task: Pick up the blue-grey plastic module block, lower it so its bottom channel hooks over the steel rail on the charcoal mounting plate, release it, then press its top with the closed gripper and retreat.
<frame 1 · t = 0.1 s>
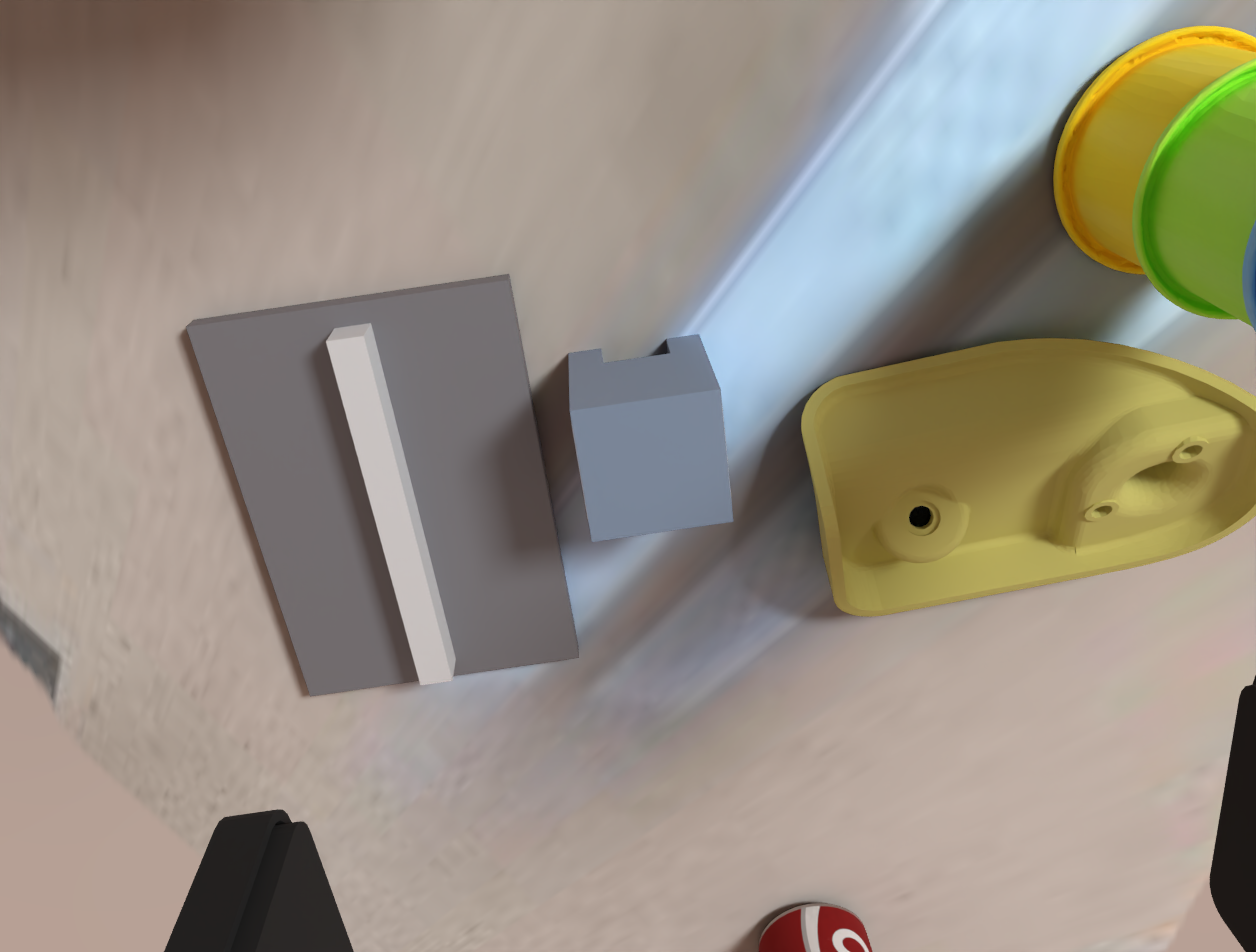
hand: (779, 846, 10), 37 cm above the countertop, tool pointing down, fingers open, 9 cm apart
plastic component: (995, 458, 50), on the countertop
module: (641, 404, 48), on the countertop
stacking cups: (1164, 154, 44), on the countertop
soda can: (808, 930, 64), on the countertop
rail plate: (403, 497, 49), on the countertop
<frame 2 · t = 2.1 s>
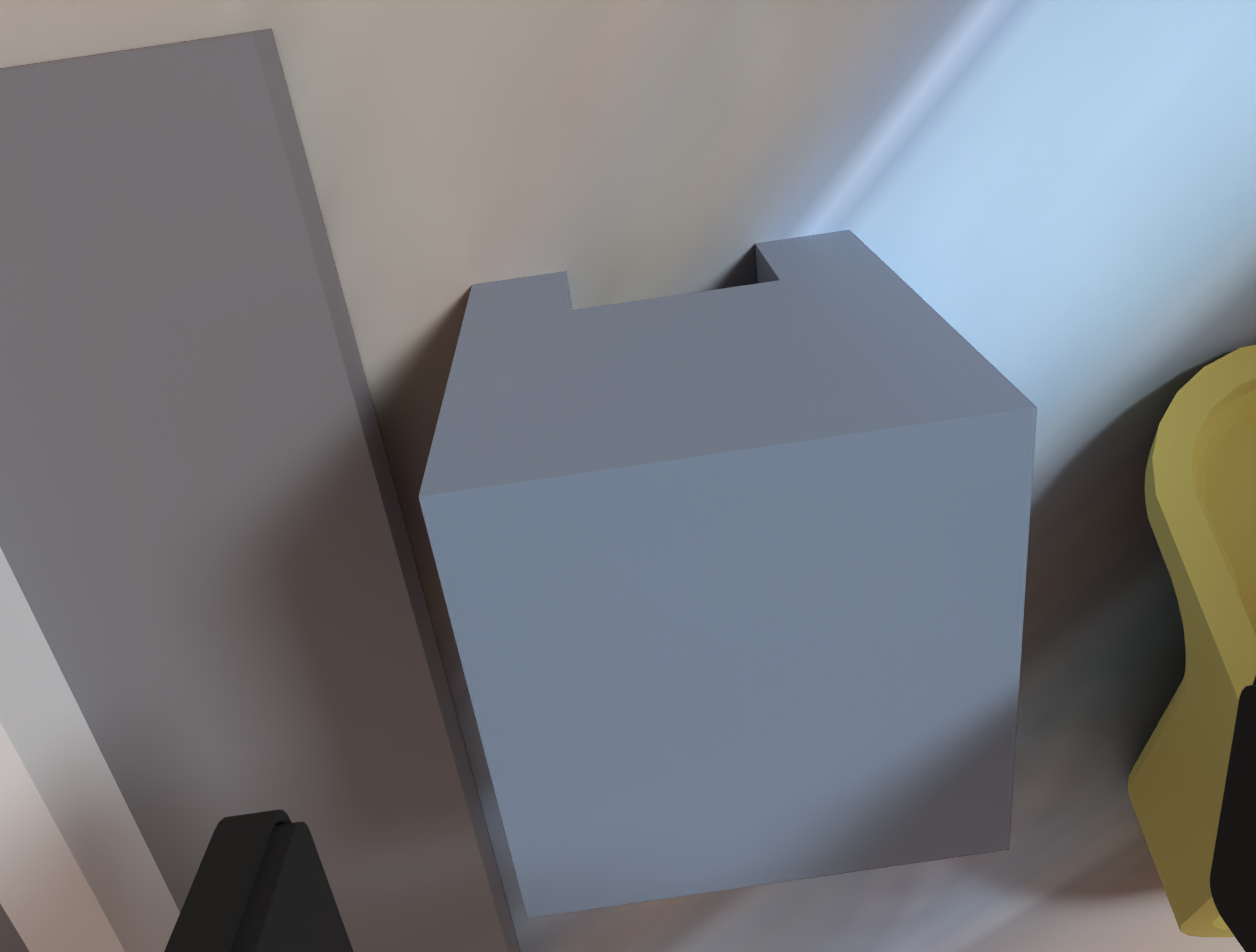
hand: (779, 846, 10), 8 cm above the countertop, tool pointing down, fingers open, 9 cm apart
module: (680, 428, 17), on the countertop
rail plate: (54, 669, 19), on the countertop
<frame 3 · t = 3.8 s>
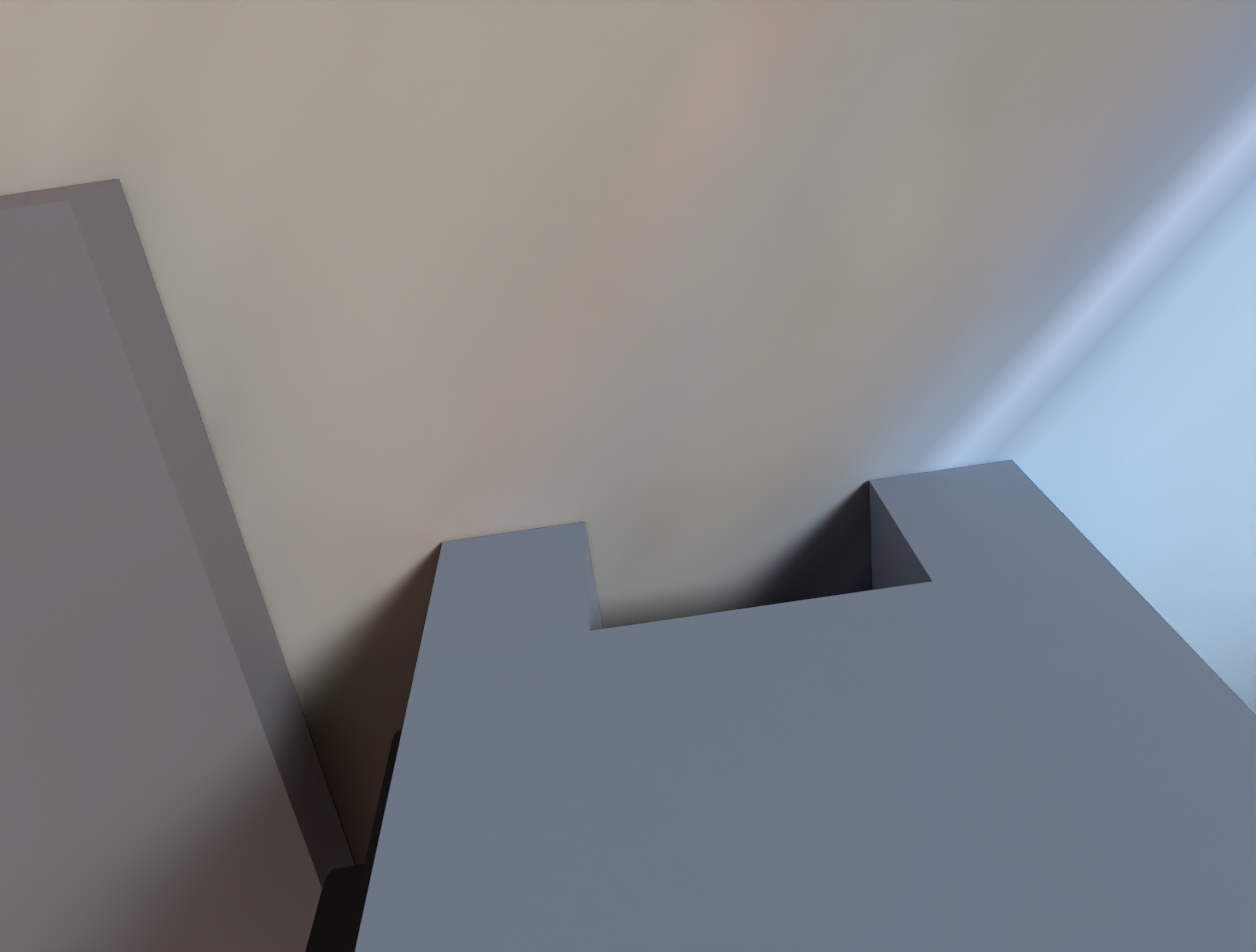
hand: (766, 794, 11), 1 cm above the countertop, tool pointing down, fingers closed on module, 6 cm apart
module: (749, 726, 12), on the countertop, touching gripper
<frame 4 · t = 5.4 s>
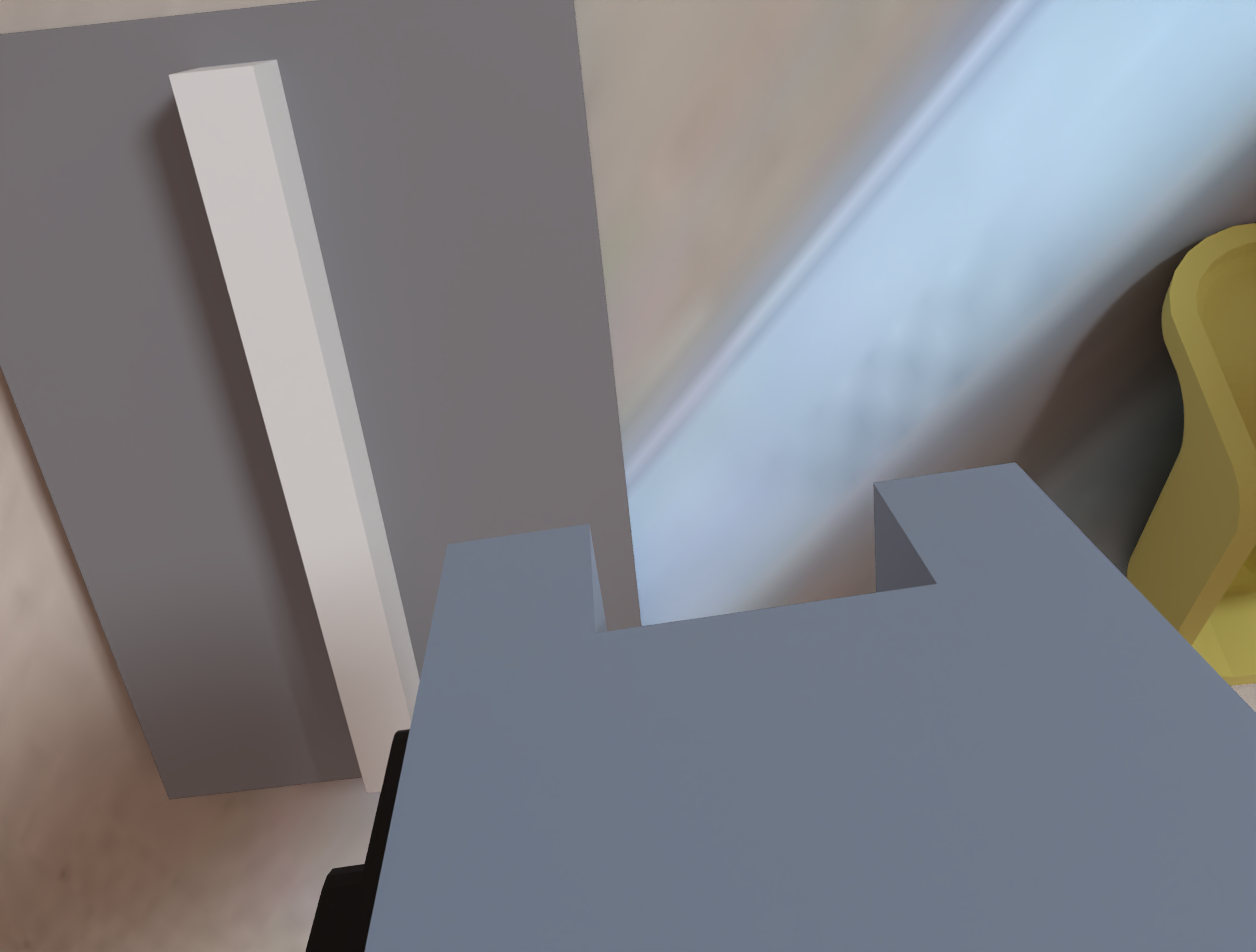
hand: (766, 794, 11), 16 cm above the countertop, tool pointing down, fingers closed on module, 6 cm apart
module: (753, 727, 12), point 15 cm above the countertop, touching gripper
rail plate: (343, 441, 26), on the countertop
when the fingers open (3 cm above the countertop, at t = 8.0 s): module stays where it is, resting on rail plate.
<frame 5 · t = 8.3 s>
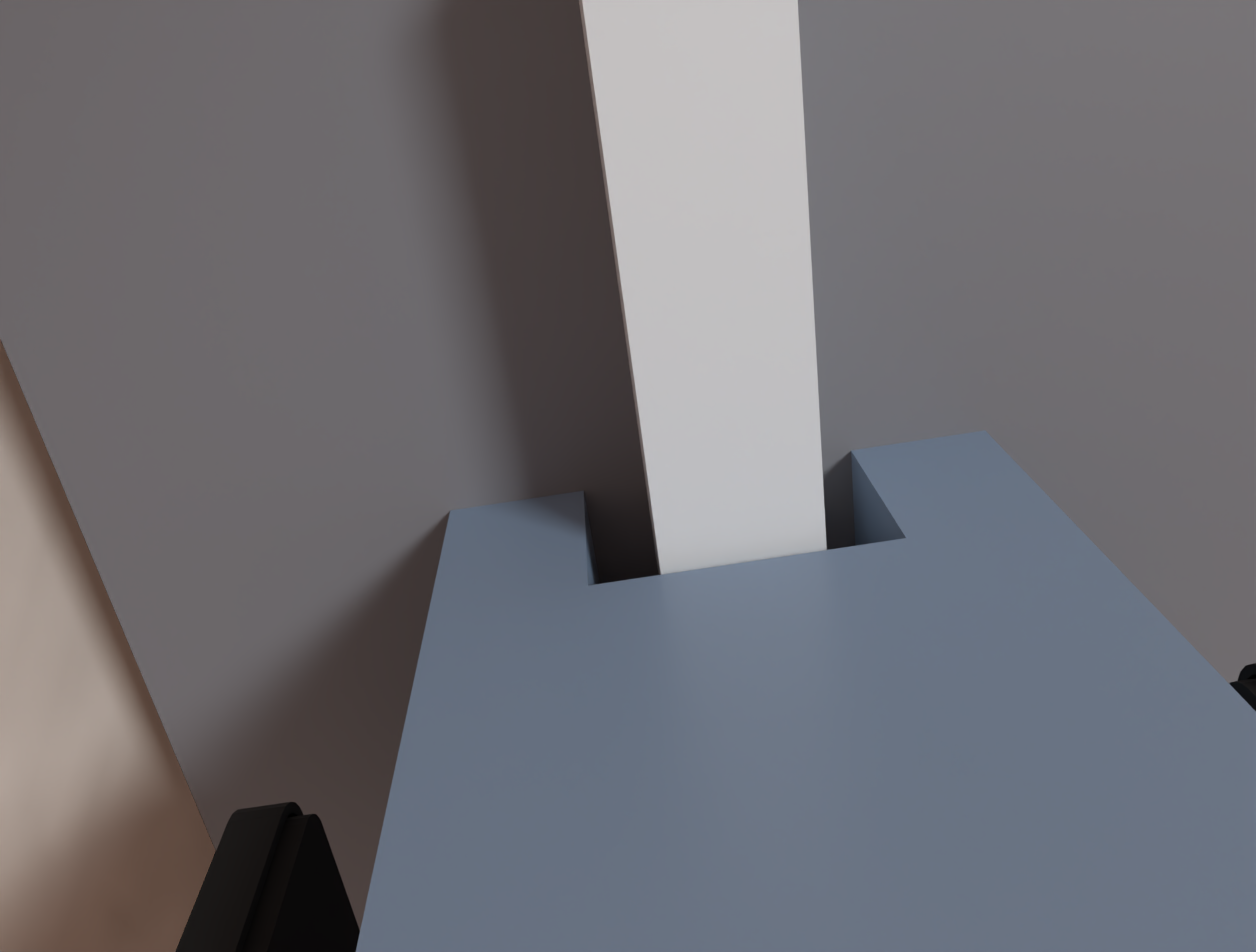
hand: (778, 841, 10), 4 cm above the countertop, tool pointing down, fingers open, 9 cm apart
module: (740, 686, 13), point 1 cm above the countertop, touching rail plate
rail plate: (727, 640, 13), on the countertop
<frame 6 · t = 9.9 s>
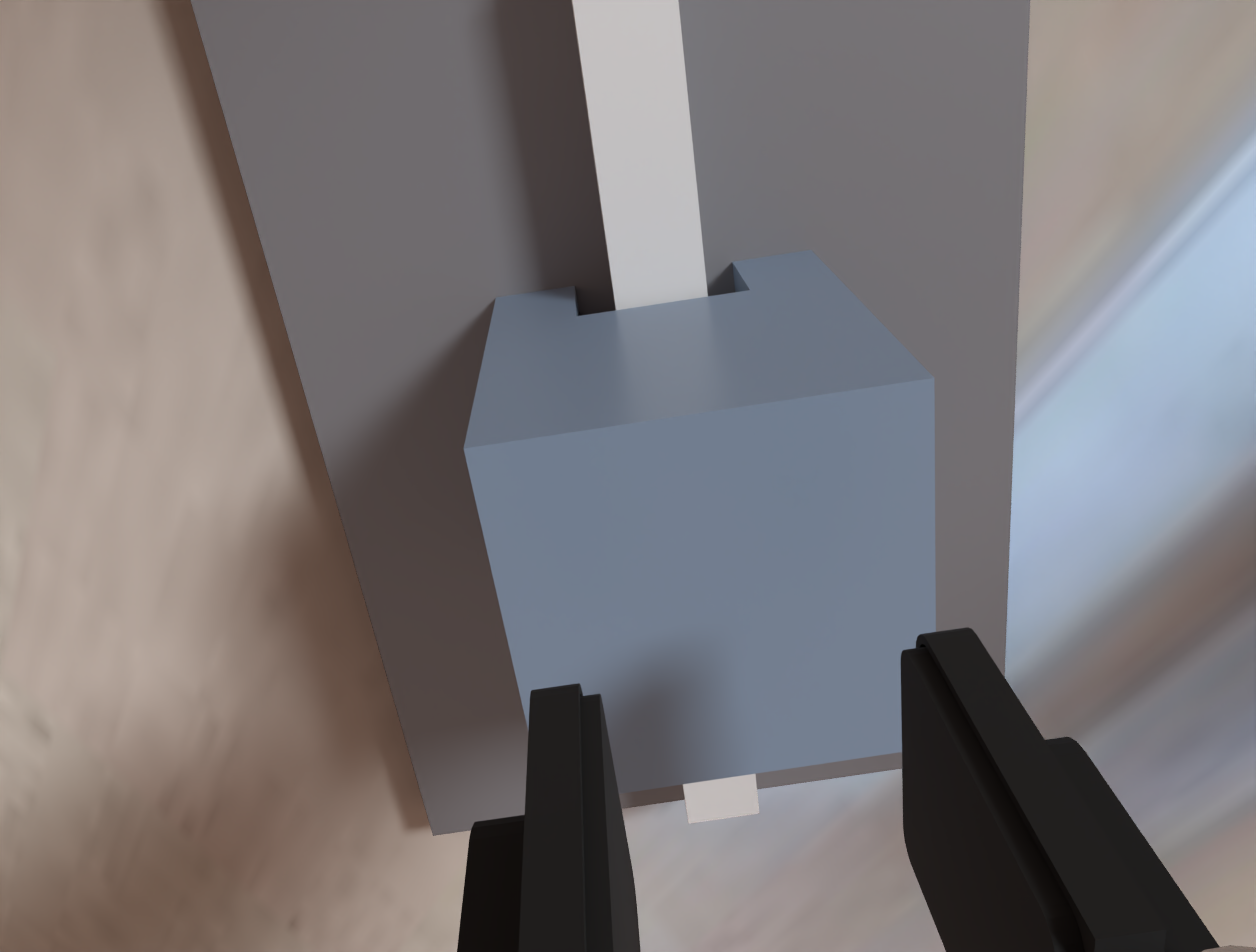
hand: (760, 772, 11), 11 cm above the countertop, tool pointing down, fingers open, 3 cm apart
module: (672, 419, 20), point 1 cm above the countertop, touching rail plate
rail plate: (666, 401, 21), on the countertop
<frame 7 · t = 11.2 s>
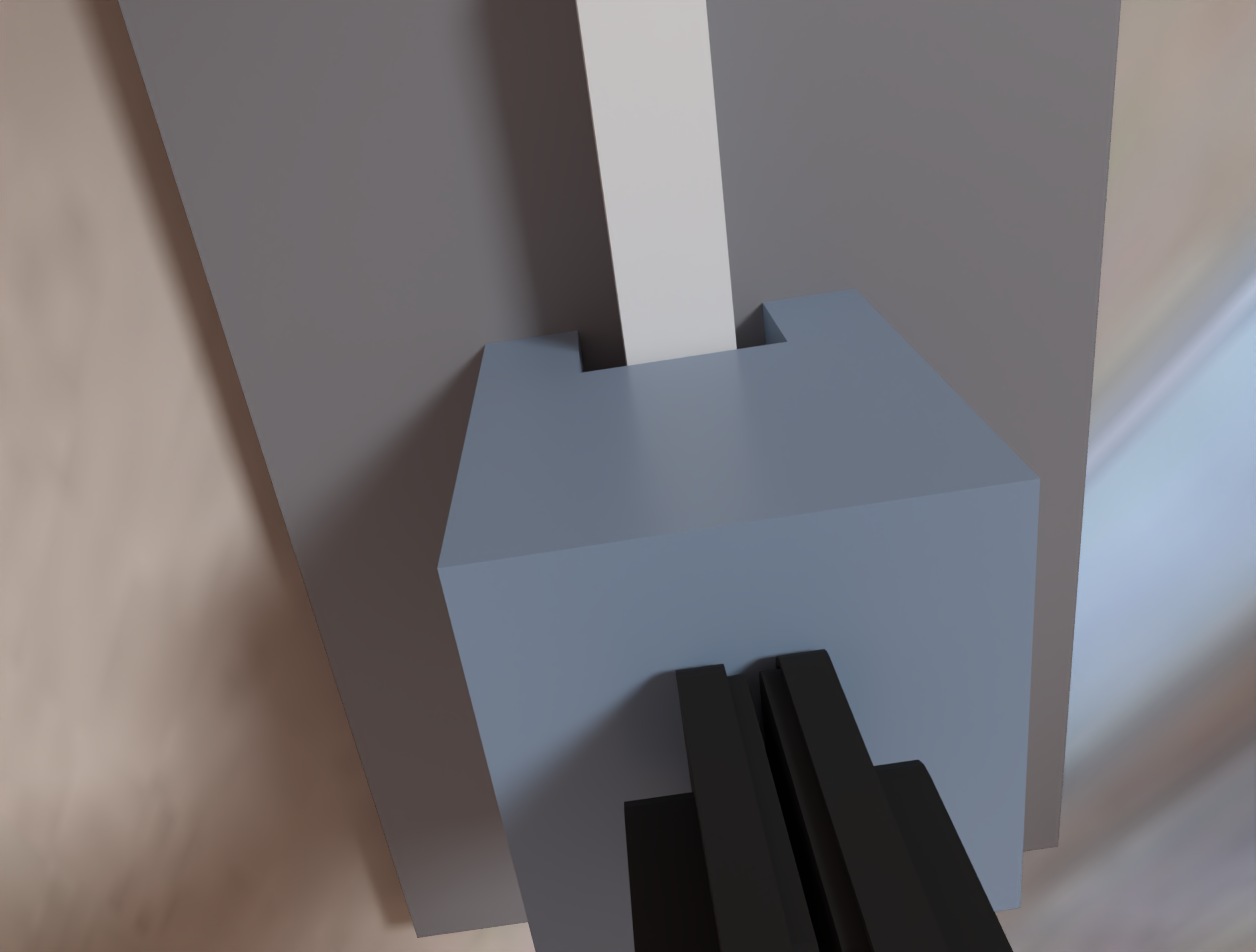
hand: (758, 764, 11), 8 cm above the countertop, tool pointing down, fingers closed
module: (690, 482, 18), point 1 cm above the countertop, touching gripper, rail plate
rail plate: (682, 458, 18), on the countertop
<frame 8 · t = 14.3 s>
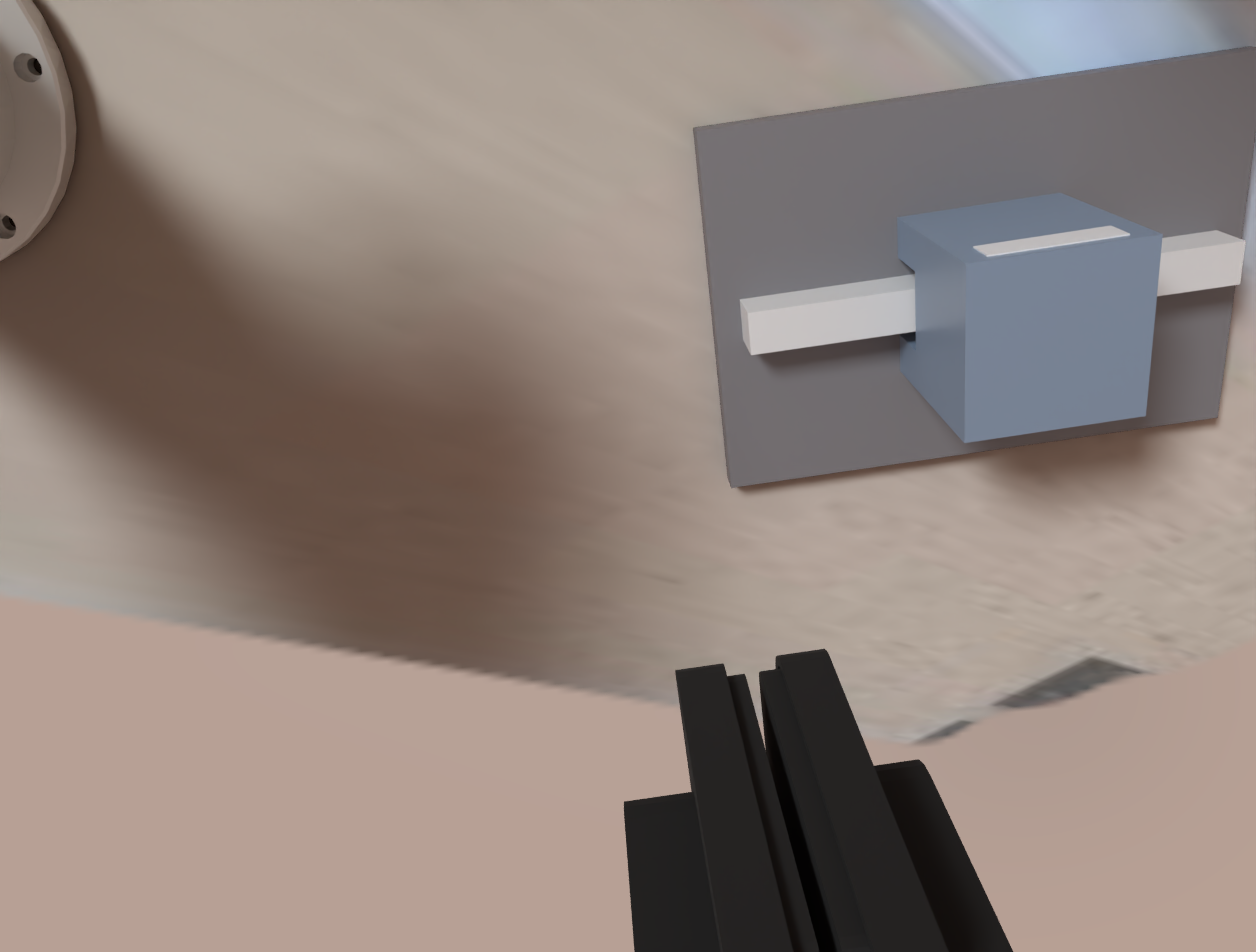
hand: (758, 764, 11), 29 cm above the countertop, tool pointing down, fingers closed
module: (977, 285, 38), point 1 cm above the countertop, touching rail plate
rail plate: (967, 278, 39), on the countertop
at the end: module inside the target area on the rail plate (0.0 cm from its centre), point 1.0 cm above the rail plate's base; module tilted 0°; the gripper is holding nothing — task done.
